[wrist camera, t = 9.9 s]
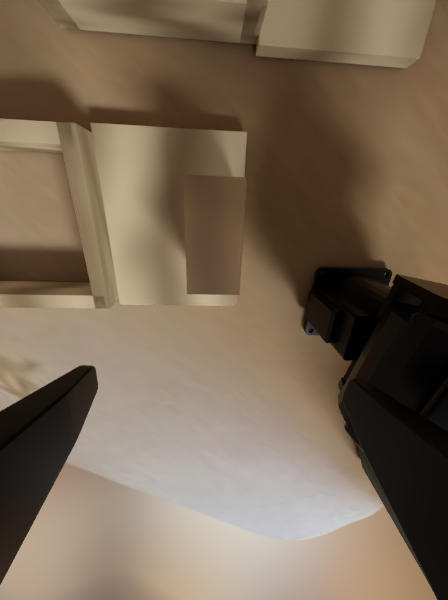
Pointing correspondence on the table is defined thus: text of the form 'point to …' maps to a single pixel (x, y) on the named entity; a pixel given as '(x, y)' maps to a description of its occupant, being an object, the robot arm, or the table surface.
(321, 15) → the cream rimmed tray
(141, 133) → the hollow rectangular frame
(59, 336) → the table surface
